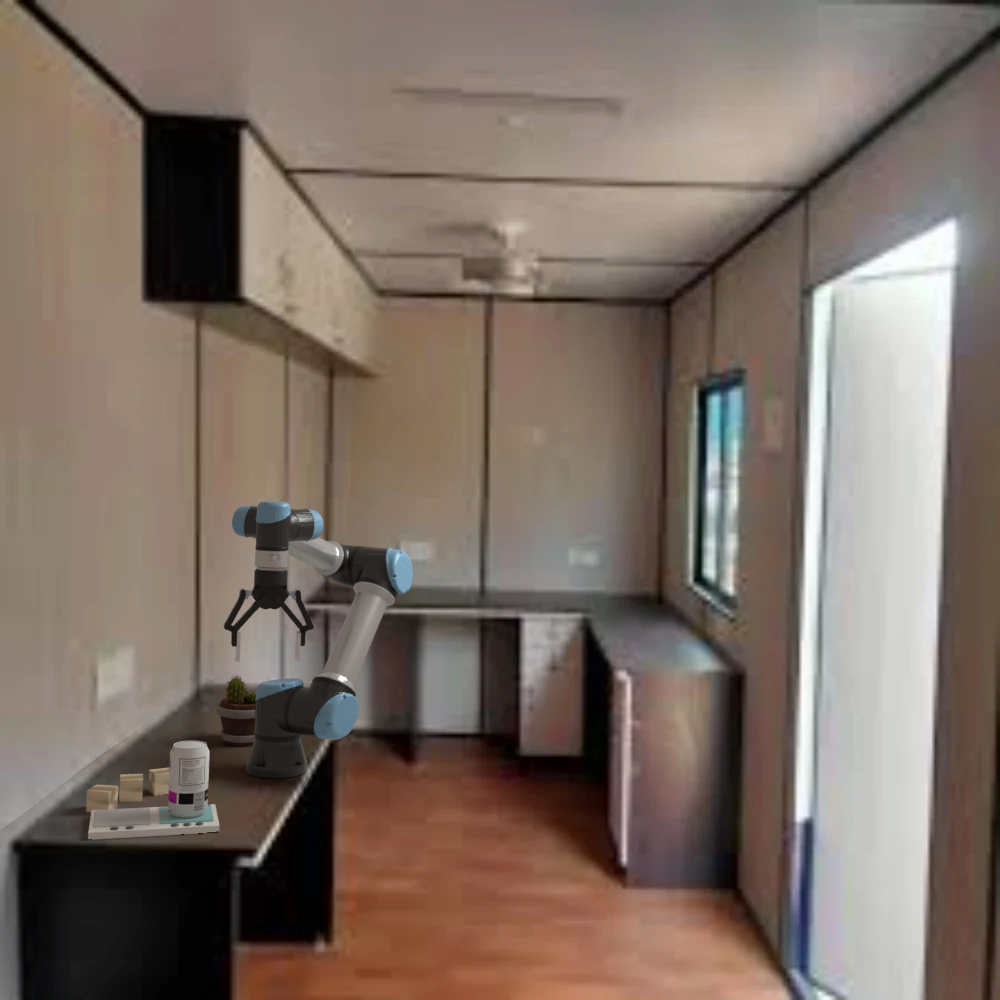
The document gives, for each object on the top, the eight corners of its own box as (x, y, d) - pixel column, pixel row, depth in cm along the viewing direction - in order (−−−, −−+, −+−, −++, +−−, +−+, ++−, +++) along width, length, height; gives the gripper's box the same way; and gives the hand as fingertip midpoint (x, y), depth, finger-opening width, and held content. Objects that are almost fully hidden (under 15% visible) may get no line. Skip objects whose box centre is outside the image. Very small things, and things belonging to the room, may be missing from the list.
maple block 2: (119, 796, 258) (120, 774, 258) (142, 795, 260) (143, 773, 260) (119, 802, 253) (119, 780, 253) (142, 801, 255) (143, 779, 255)
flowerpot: (246, 733, 322) (249, 664, 321) (280, 743, 312) (283, 672, 311) (204, 741, 310) (206, 669, 310) (238, 752, 301) (241, 678, 300)
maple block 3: (148, 790, 263) (149, 769, 263) (169, 788, 266) (170, 767, 266) (154, 796, 259) (155, 775, 259) (176, 793, 262) (177, 772, 262)
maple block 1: (95, 806, 250) (96, 784, 250) (117, 808, 249) (118, 785, 249) (86, 813, 245) (86, 790, 245) (108, 814, 244) (109, 792, 244)
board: (91, 817, 242) (91, 808, 242) (214, 810, 250) (215, 802, 250) (88, 839, 228) (88, 831, 228) (219, 832, 236) (219, 824, 236)
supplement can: (160, 816, 239) (162, 746, 239) (182, 805, 247) (184, 738, 247) (193, 821, 237) (195, 751, 236) (214, 810, 245) (216, 742, 244)
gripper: (216, 569, 250) (212, 663, 250) (328, 570, 257) (324, 662, 258) (214, 566, 257) (211, 658, 257) (323, 567, 264) (319, 656, 265)
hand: (267, 660), depth 258 cm, fingers open, 13 cm apart
